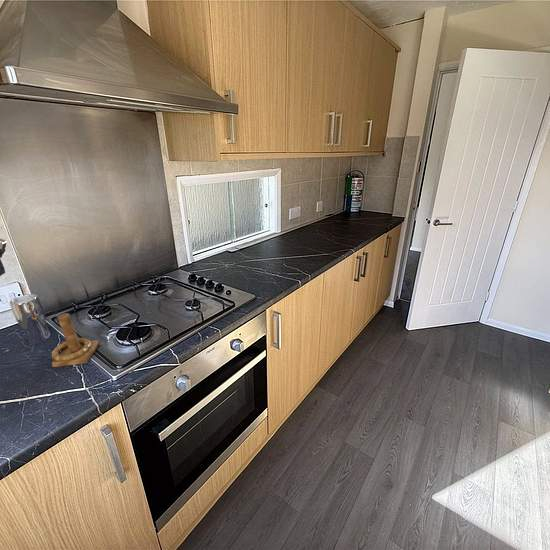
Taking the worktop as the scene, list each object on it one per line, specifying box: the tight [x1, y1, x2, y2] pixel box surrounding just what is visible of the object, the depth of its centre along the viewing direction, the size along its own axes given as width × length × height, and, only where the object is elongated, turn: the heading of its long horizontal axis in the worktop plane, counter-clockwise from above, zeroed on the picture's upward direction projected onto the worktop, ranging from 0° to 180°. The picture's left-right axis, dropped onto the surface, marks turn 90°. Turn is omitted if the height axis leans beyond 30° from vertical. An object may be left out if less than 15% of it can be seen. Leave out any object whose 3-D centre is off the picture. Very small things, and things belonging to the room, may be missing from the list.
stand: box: [51, 312, 100, 368], centre depth 83 cm, size 9×9×14 cm
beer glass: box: [9, 293, 52, 345], centre depth 90 cm, size 7×7×15 cm
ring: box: [50, 337, 91, 361], centre depth 85 cm, size 10×10×2 cm
